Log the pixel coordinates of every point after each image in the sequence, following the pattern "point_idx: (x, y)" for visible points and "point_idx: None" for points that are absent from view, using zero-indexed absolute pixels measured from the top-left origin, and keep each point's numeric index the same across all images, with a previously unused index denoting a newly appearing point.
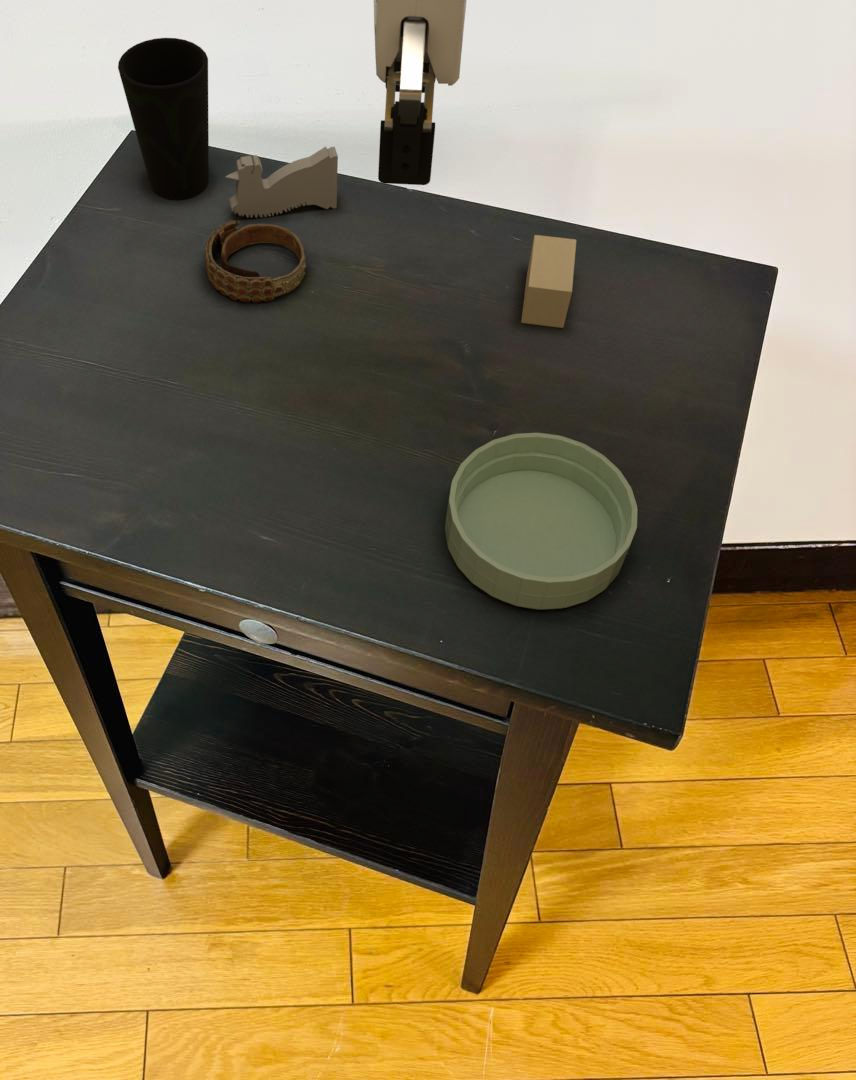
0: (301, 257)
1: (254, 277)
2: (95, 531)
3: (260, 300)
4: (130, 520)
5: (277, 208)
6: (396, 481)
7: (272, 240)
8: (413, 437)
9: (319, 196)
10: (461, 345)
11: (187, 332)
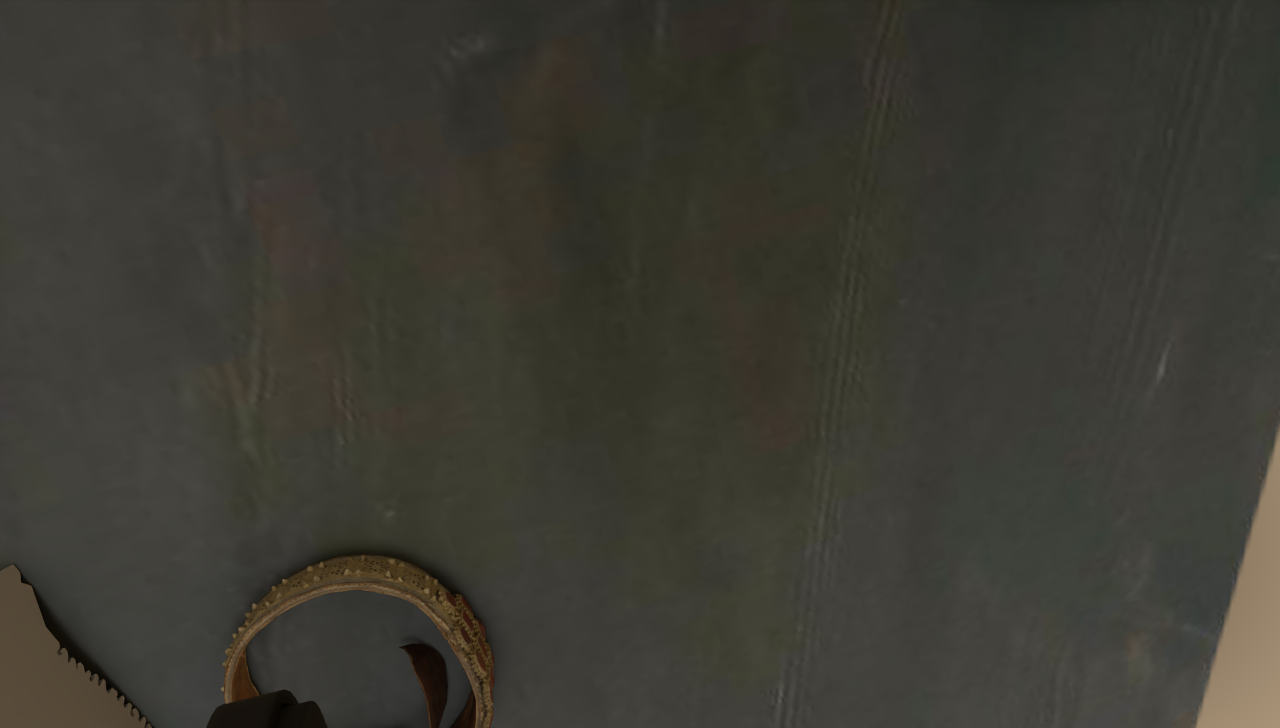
0: (329, 592)
1: (468, 675)
2: (1173, 668)
3: (477, 621)
4: (1143, 623)
5: (114, 708)
6: (975, 131)
7: (245, 673)
8: (831, 123)
9: (23, 630)
10: (461, 66)
11: (623, 724)
